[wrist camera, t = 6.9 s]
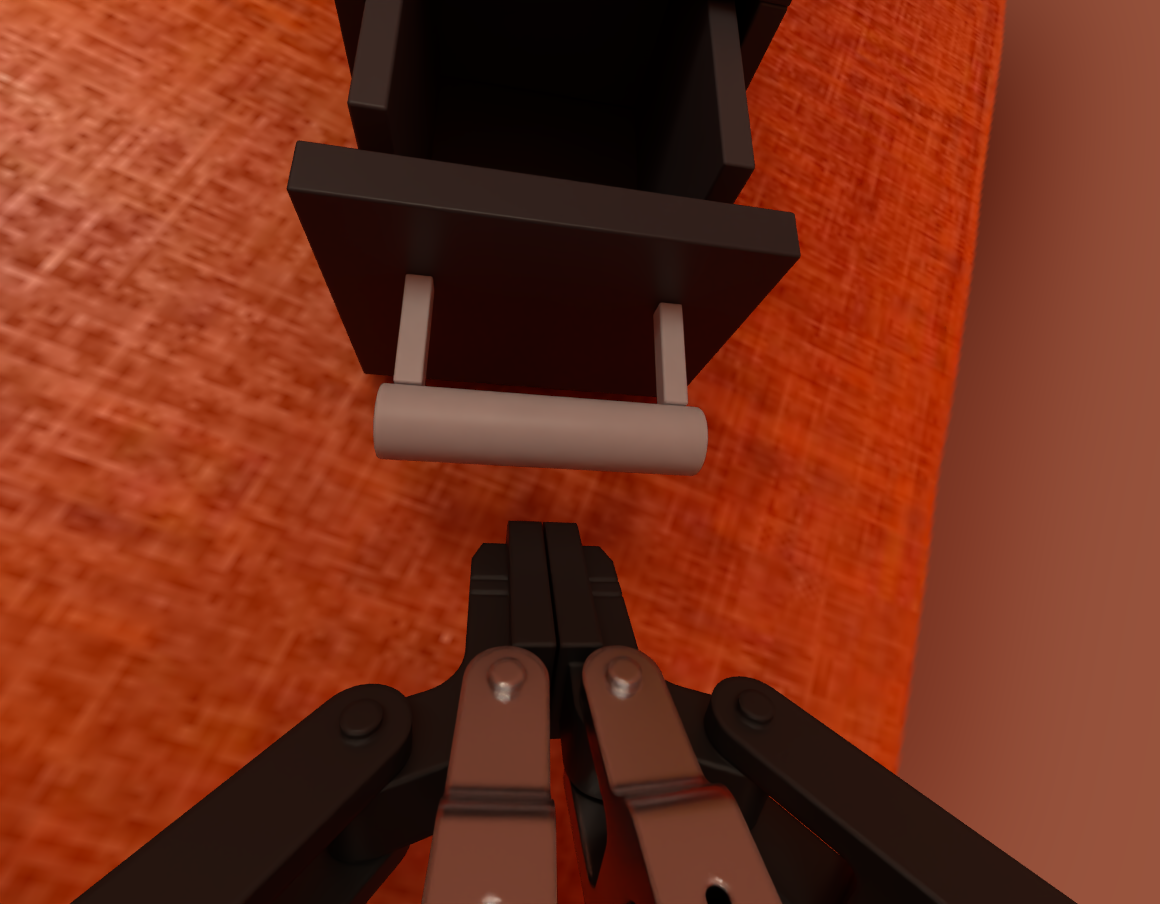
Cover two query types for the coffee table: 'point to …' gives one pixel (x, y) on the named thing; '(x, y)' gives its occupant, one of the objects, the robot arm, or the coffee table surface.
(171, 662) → the coffee table surface
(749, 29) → the cabinet
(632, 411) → the drawer
